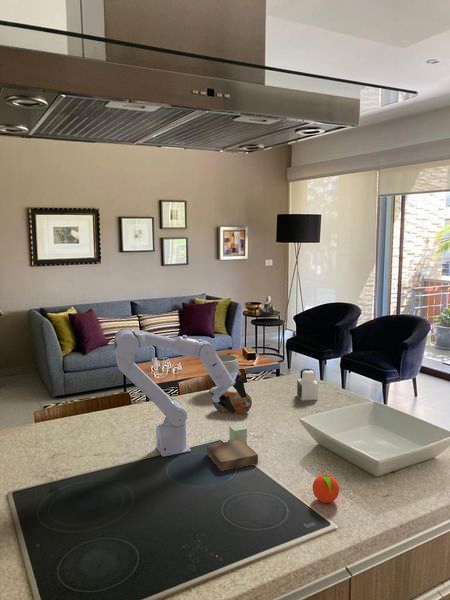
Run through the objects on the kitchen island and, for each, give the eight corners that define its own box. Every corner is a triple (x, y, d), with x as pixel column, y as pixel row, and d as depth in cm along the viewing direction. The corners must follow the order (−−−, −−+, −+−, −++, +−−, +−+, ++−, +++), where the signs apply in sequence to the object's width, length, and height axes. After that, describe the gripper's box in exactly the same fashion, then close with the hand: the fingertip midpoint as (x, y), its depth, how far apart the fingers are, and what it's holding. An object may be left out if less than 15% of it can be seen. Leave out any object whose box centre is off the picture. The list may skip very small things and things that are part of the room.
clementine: (343, 509, 127) (344, 483, 126) (317, 511, 126) (317, 485, 125) (334, 493, 135) (335, 468, 134) (309, 494, 134) (309, 469, 133)
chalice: (242, 395, 212) (242, 361, 210) (210, 397, 210) (209, 363, 208) (235, 385, 226) (235, 353, 224) (205, 387, 223) (204, 354, 221)
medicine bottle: (296, 395, 212) (297, 367, 210) (313, 394, 213) (313, 367, 211) (301, 400, 205) (301, 372, 203) (318, 400, 206) (318, 372, 204)
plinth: (221, 471, 147) (221, 462, 146) (207, 454, 158) (206, 445, 157) (257, 463, 151) (257, 454, 151) (241, 447, 162) (241, 439, 162)
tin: (213, 411, 194) (212, 391, 193) (215, 409, 197) (215, 388, 196) (250, 415, 190) (250, 394, 189) (252, 412, 193) (252, 391, 192)
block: (234, 445, 165) (234, 431, 164) (229, 440, 169) (229, 426, 168) (246, 443, 166) (246, 428, 165) (241, 437, 170) (241, 424, 170)
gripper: (215, 386, 155) (236, 419, 159) (238, 357, 165) (257, 389, 169) (200, 387, 160) (221, 419, 164) (223, 360, 170) (242, 390, 174)
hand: (238, 404), depth 167 cm, fingers open, 7 cm apart
